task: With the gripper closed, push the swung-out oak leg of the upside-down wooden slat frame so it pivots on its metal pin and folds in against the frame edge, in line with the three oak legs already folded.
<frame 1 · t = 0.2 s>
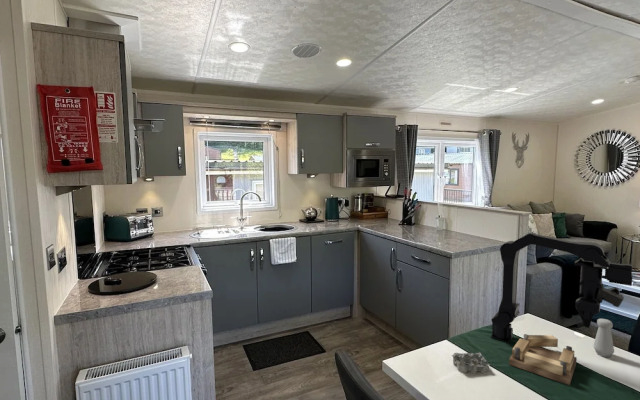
hand: (588, 323, 115), 14 cm above the table, fingers open, 9 cm apart
hinged leg: (539, 340, 123), point 4 cm above the table, hinge at 40.0°
wooden slat frame: (542, 363, 115), on the table
grey jagged rock: (469, 367, 114), on the table
salt shaker: (603, 355, 120), on the table
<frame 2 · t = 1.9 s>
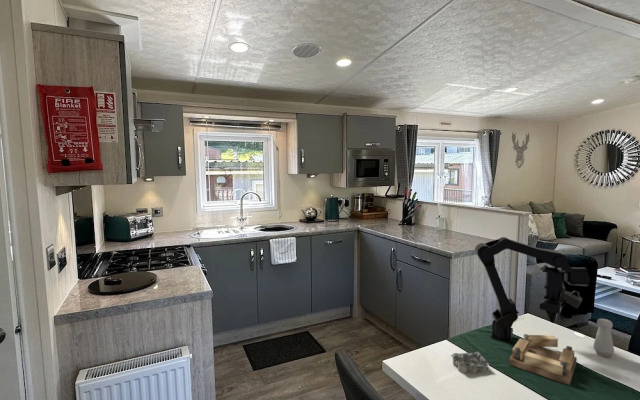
hand: (552, 322, 128), 8 cm above the table, fingers closed
nothing on the table moved.
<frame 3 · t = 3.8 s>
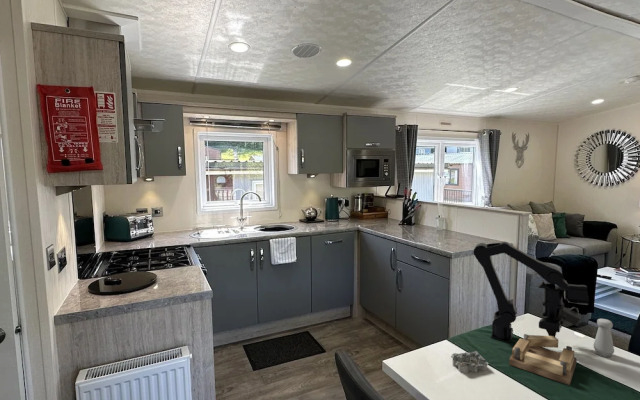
hand: (552, 339, 125), 3 cm above the table, fingers closed
hinged leg: (539, 340, 123), point 4 cm above the table, hinge at 37.2°, touching gripper
everything else where it was.
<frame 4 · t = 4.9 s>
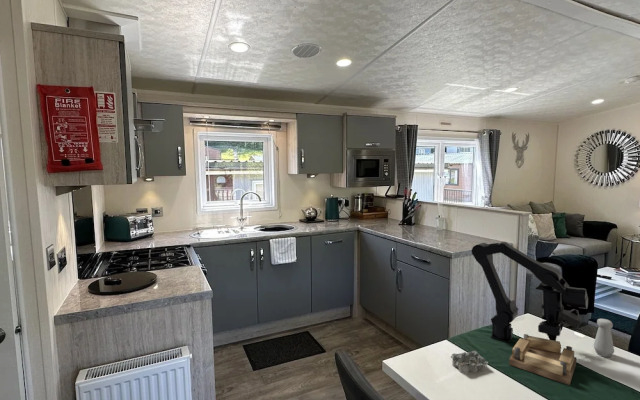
hand: (553, 343, 122), 3 cm above the table, fingers closed
hinged leg: (541, 342, 121), point 4 cm above the table, hinge at 14.2°, touching gripper
everything else where it was.
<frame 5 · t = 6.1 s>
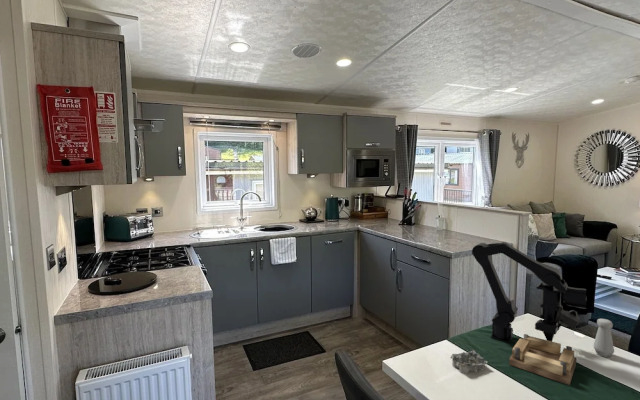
hand: (549, 342, 123), 3 cm above the table, fingers closed
hinged leg: (541, 343, 121), point 4 cm above the table, hinge at 4.3°
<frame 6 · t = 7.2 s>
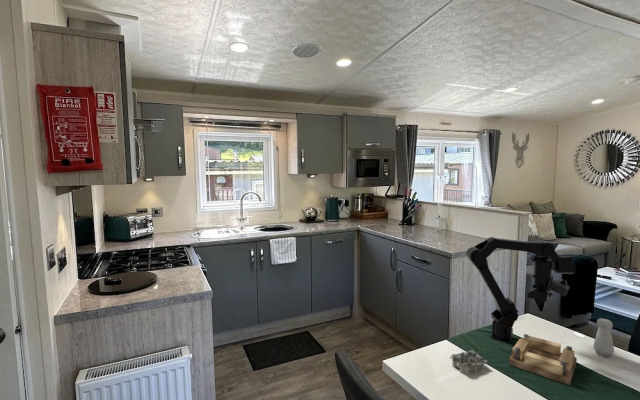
hand: (541, 311, 130), 12 cm above the table, fingers closed
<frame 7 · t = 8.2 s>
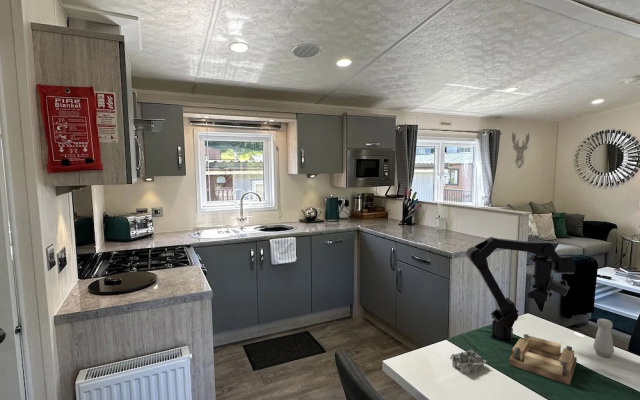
hand: (541, 311, 130), 12 cm above the table, fingers closed
at the end: hinged leg at +4° (first picture: +40°); salt shaker moved 0.2 cm from its start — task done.
